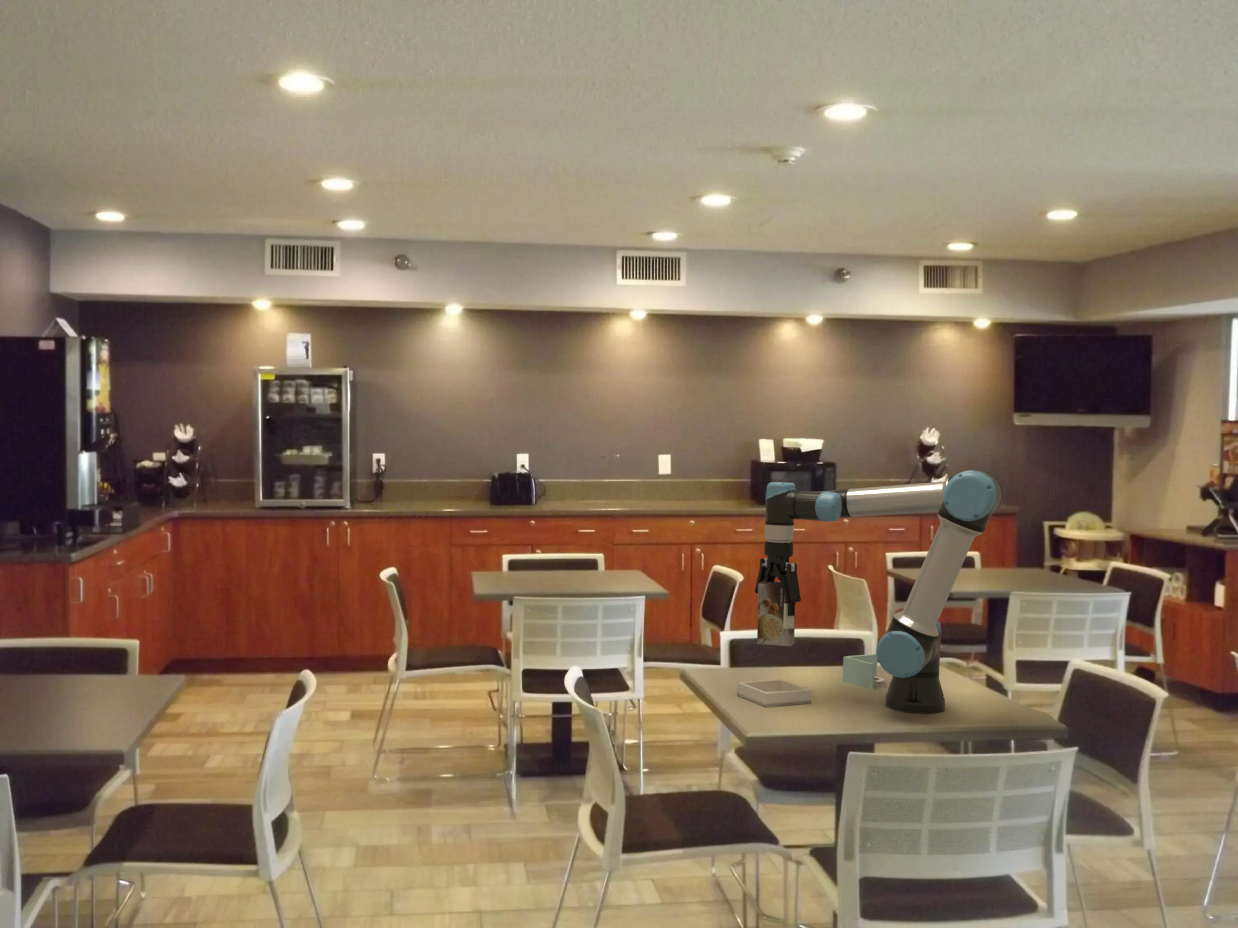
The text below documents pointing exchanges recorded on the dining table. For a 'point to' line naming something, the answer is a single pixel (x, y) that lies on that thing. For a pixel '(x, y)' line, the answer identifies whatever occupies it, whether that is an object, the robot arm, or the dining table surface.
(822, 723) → the dining table surface
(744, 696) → the white square tray
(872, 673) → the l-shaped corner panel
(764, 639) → the coffee box
